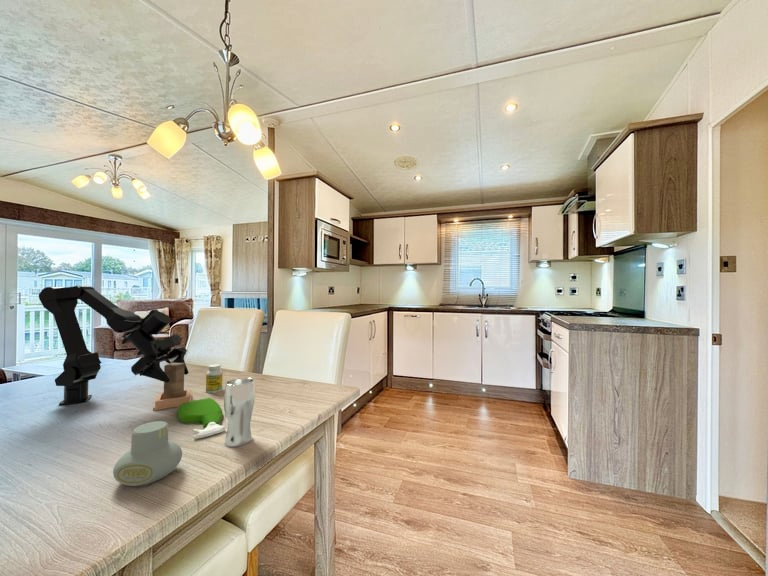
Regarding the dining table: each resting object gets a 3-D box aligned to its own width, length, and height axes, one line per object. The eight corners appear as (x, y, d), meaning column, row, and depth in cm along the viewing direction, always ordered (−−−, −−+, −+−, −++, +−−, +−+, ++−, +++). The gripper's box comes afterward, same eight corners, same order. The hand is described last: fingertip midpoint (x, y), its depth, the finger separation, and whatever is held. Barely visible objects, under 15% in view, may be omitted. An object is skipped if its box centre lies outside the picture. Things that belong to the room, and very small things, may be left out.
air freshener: (188, 463, 65) (190, 417, 65) (165, 488, 57) (167, 435, 57) (134, 466, 64) (135, 419, 64) (102, 491, 55) (104, 437, 56)
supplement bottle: (221, 387, 116) (222, 363, 116) (222, 391, 111) (223, 366, 112) (205, 390, 113) (206, 364, 113) (206, 394, 108) (206, 367, 109)
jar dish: (156, 400, 102) (157, 392, 102) (191, 395, 107) (192, 388, 107) (152, 410, 93) (153, 402, 93) (190, 404, 98) (191, 397, 98)
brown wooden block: (163, 402, 98) (164, 365, 98) (171, 397, 102) (172, 362, 102) (175, 402, 98) (176, 365, 98) (183, 398, 102) (184, 362, 102)
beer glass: (230, 434, 78) (231, 377, 78) (257, 434, 79) (258, 377, 79) (217, 448, 71) (219, 385, 72) (247, 447, 72) (249, 385, 72)
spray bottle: (214, 405, 99) (234, 433, 81) (175, 413, 92) (187, 446, 74) (215, 396, 99) (235, 422, 81) (175, 403, 92) (187, 434, 74)
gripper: (141, 331, 91) (176, 367, 91) (182, 324, 110) (211, 355, 110) (115, 356, 91) (150, 393, 91) (160, 345, 109) (189, 376, 109)
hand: (178, 377), depth 100 cm, fingers open, 9 cm apart
